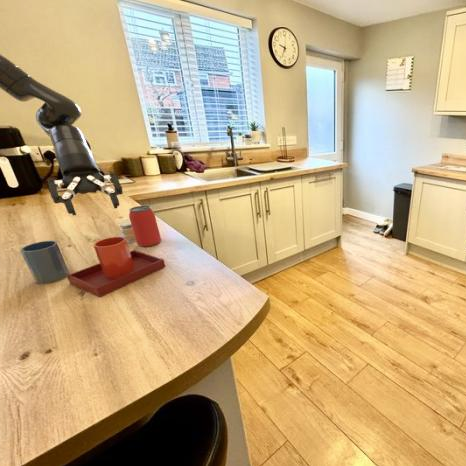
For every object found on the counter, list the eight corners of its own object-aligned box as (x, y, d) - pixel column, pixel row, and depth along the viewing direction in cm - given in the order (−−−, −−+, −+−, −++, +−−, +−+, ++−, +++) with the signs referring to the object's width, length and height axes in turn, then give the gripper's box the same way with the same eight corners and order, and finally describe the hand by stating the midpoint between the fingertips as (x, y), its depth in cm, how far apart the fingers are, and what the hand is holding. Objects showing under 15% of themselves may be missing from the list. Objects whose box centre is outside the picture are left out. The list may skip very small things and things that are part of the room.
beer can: (165, 242, 95) (156, 207, 91) (143, 249, 90) (132, 212, 86) (155, 237, 99) (146, 203, 94) (134, 244, 94) (123, 208, 89)
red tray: (99, 297, 67) (96, 288, 66) (70, 283, 72) (66, 275, 71) (165, 266, 80) (163, 259, 79) (136, 257, 85) (134, 249, 84)
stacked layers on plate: (151, 237, 98) (147, 222, 96) (119, 244, 93) (113, 228, 91) (147, 229, 105) (143, 215, 103) (117, 235, 100) (112, 220, 98)
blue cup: (44, 286, 71) (29, 253, 67) (30, 280, 73) (14, 248, 69) (75, 274, 76) (63, 243, 73) (61, 269, 78) (48, 238, 75)
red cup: (114, 281, 72) (103, 249, 68) (99, 275, 74) (87, 244, 71) (140, 269, 77) (131, 239, 74) (125, 264, 80) (116, 235, 76)
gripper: (110, 166, 86) (129, 211, 83) (43, 172, 77) (61, 223, 74) (108, 149, 81) (127, 197, 77) (35, 153, 71) (54, 208, 68)
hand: (95, 210), depth 76 cm, fingers open, 8 cm apart
